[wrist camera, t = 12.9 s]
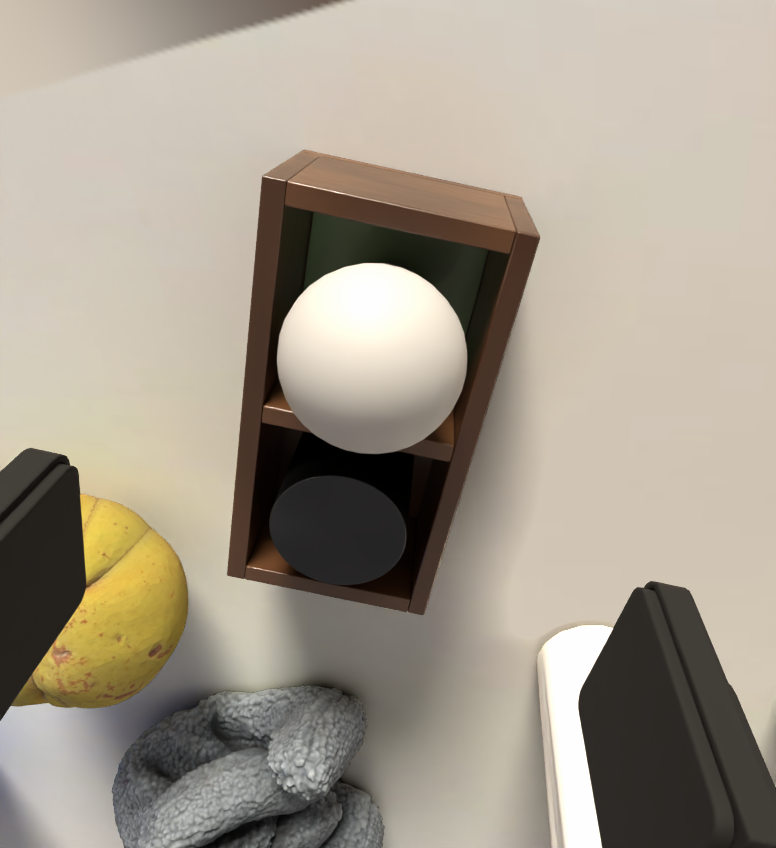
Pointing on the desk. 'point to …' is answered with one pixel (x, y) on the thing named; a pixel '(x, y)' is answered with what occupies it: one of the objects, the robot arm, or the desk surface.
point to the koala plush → (249, 775)
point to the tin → (342, 512)
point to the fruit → (114, 615)
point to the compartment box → (356, 244)
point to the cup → (568, 735)
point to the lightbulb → (372, 358)
